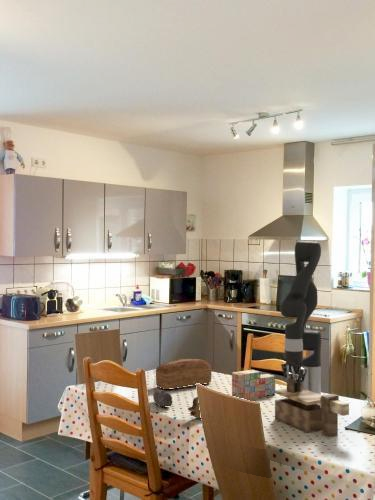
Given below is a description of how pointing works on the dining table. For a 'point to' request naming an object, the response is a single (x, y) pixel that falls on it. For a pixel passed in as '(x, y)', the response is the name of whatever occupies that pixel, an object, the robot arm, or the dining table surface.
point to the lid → (299, 393)
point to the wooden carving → (195, 408)
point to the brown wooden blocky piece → (308, 415)
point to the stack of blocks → (252, 384)
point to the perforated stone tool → (162, 398)
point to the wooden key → (338, 407)
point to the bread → (183, 373)
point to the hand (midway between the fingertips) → (293, 390)
